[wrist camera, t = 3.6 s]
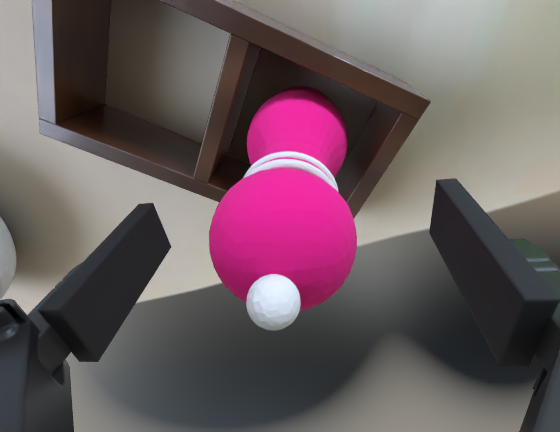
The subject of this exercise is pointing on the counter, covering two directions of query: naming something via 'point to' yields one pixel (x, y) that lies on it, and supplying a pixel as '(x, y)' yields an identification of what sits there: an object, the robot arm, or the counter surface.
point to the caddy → (226, 104)
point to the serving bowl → (6, 258)
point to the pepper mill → (287, 211)
